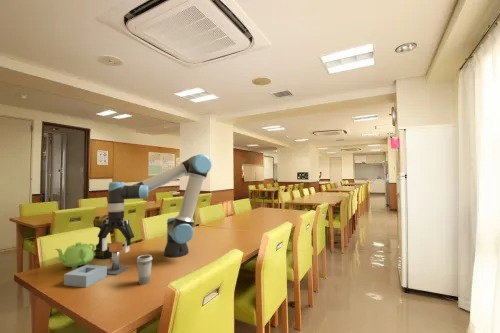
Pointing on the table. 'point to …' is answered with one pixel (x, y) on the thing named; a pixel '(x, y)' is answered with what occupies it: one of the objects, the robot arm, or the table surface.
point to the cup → (144, 268)
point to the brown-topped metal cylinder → (115, 254)
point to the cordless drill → (98, 252)
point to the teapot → (77, 255)
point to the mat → (121, 269)
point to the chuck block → (85, 275)
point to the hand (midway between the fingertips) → (115, 251)
